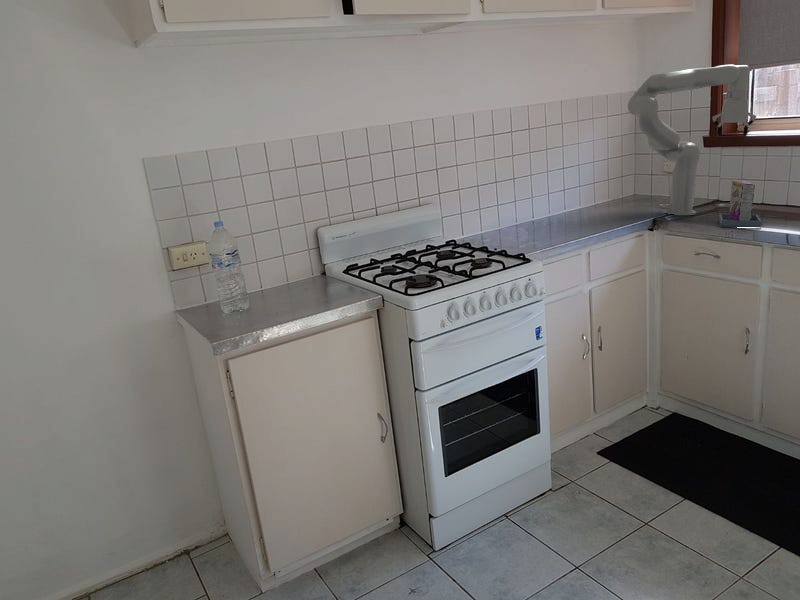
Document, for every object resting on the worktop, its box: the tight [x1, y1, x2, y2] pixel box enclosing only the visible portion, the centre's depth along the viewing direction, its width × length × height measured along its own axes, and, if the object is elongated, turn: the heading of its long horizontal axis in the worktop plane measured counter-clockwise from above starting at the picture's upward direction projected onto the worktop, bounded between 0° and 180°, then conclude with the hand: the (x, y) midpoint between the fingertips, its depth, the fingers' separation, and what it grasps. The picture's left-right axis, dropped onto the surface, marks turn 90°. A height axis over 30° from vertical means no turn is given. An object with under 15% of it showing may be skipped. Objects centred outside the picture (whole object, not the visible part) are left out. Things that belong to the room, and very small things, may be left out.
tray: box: [718, 213, 762, 229], centre depth 260 cm, size 14×16×3 cm
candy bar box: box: [728, 180, 756, 221], centre depth 258 cm, size 11×5×16 cm, turn 174°
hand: (731, 136), depth 282 cm, fingers open, 9 cm apart
